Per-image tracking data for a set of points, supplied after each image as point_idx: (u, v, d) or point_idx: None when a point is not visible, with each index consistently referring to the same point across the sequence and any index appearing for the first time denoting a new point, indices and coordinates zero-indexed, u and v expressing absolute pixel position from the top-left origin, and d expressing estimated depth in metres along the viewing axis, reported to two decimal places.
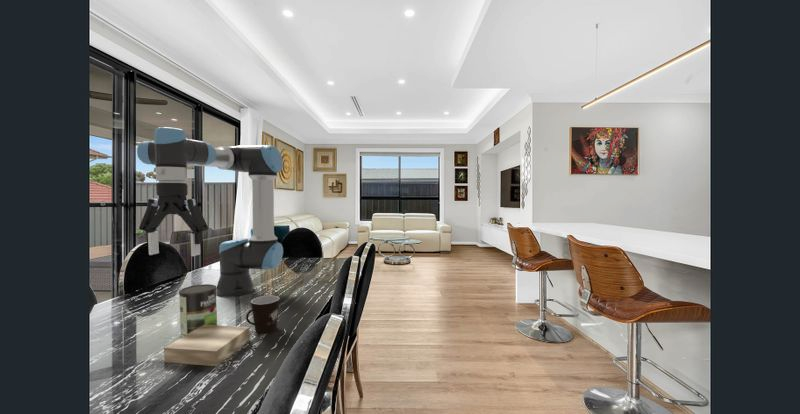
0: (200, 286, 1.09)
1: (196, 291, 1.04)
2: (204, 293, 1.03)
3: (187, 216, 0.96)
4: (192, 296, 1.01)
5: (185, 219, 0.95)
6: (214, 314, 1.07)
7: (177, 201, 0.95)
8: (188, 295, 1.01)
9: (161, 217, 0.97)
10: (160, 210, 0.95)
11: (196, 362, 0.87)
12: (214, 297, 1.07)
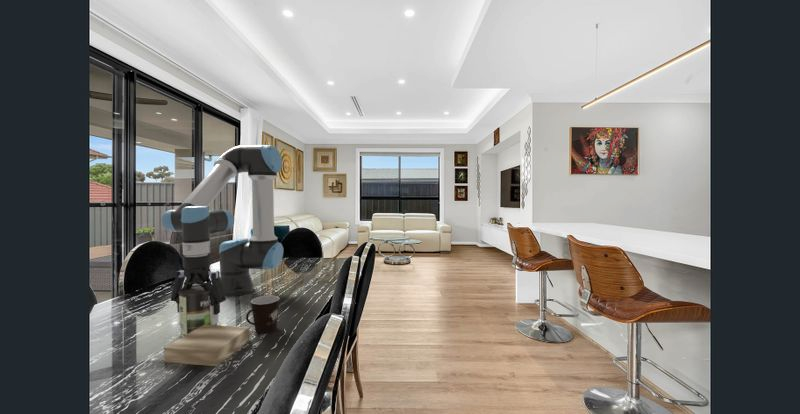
0: (200, 286, 1.09)
1: (196, 291, 1.04)
2: (204, 293, 1.03)
3: (209, 288, 1.05)
4: (191, 296, 1.01)
5: None
6: None
7: (202, 272, 1.04)
8: (188, 295, 1.01)
9: (189, 287, 1.06)
10: (187, 281, 1.04)
11: (196, 362, 0.87)
12: None
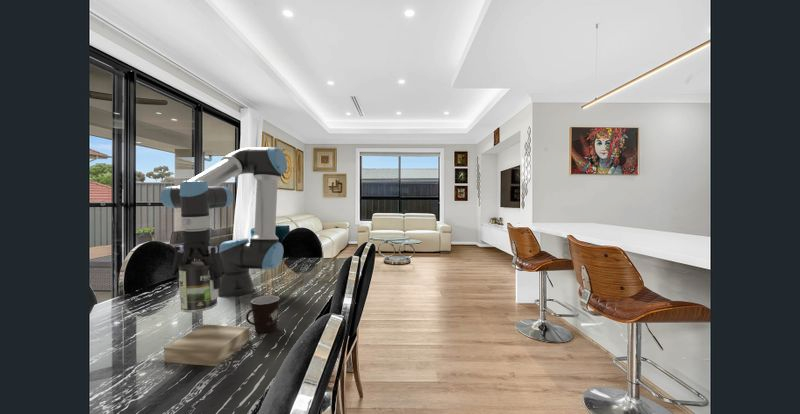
0: (200, 261, 1.09)
1: (196, 266, 1.03)
2: (204, 267, 1.03)
3: (208, 262, 1.05)
4: (191, 270, 1.01)
5: None
6: None
7: (201, 247, 1.04)
8: (188, 269, 1.01)
9: (188, 262, 1.06)
10: (186, 256, 1.04)
11: (196, 362, 0.87)
12: None
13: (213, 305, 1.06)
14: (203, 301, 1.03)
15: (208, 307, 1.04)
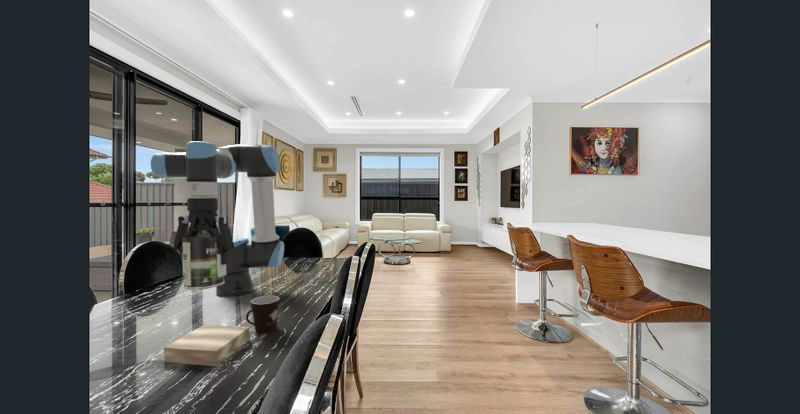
0: (206, 235, 0.97)
1: (201, 237, 0.92)
2: (210, 239, 0.91)
3: (216, 234, 0.93)
4: (196, 241, 0.89)
5: None
6: None
7: (208, 216, 0.93)
8: (192, 240, 0.89)
9: (193, 234, 0.95)
10: (191, 227, 0.93)
11: (196, 362, 0.87)
12: None
13: (220, 283, 0.94)
14: (209, 277, 0.91)
15: (214, 285, 0.92)
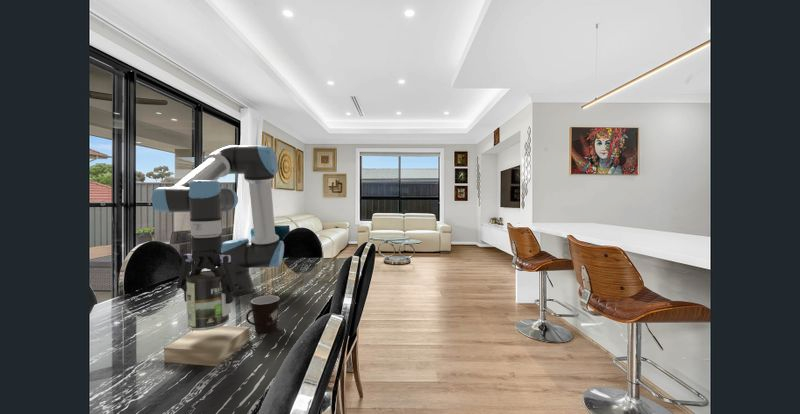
0: (210, 272, 0.96)
1: (206, 277, 0.91)
2: (215, 279, 0.90)
3: (220, 273, 0.92)
4: (201, 282, 0.88)
5: None
6: None
7: (212, 255, 0.92)
8: (197, 281, 0.88)
9: (197, 273, 0.94)
10: (195, 266, 0.92)
11: (196, 362, 0.87)
12: None
13: (225, 322, 0.93)
14: (213, 317, 0.90)
15: (219, 324, 0.91)
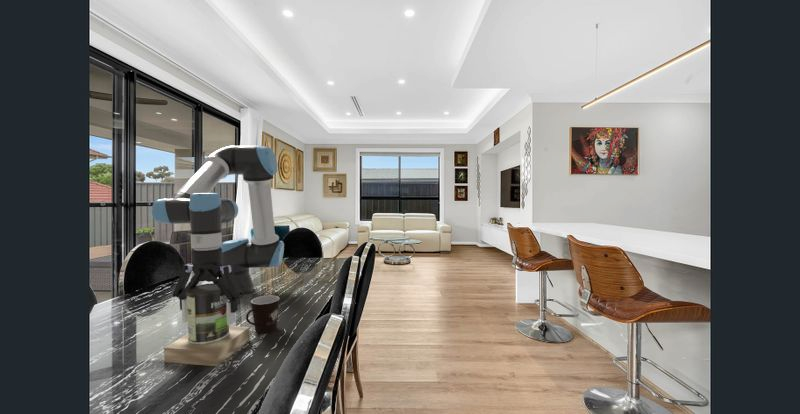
0: (210, 285, 0.96)
1: (206, 291, 0.91)
2: (215, 293, 0.90)
3: (223, 283, 0.92)
4: (201, 297, 0.89)
5: (221, 287, 0.92)
6: (226, 317, 0.94)
7: (212, 268, 0.92)
8: (197, 295, 0.88)
9: (195, 283, 0.94)
10: (195, 277, 0.92)
11: (196, 362, 0.87)
12: (226, 297, 0.94)
13: (225, 335, 0.93)
14: (214, 331, 0.91)
15: (219, 338, 0.92)
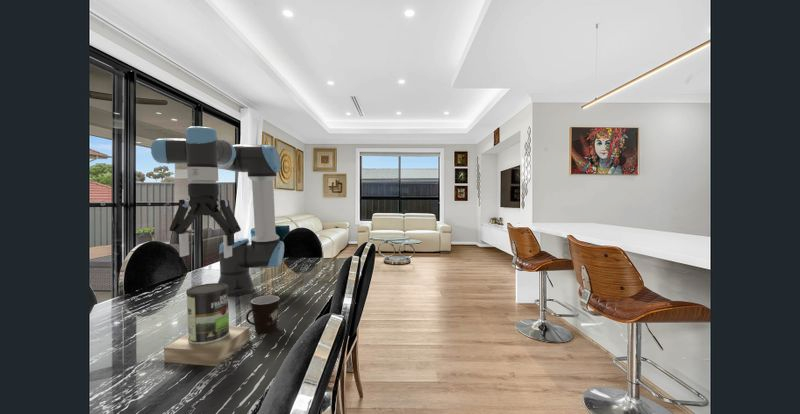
0: (210, 285, 0.96)
1: (206, 291, 0.91)
2: (215, 293, 0.90)
3: (219, 217, 0.94)
4: (201, 297, 0.89)
5: (217, 220, 0.93)
6: (226, 317, 0.94)
7: (209, 202, 0.93)
8: (197, 295, 0.88)
9: (192, 218, 0.95)
10: (192, 211, 0.93)
11: (196, 362, 0.87)
12: (226, 297, 0.94)
13: (225, 335, 0.93)
14: (214, 331, 0.91)
15: (219, 338, 0.92)
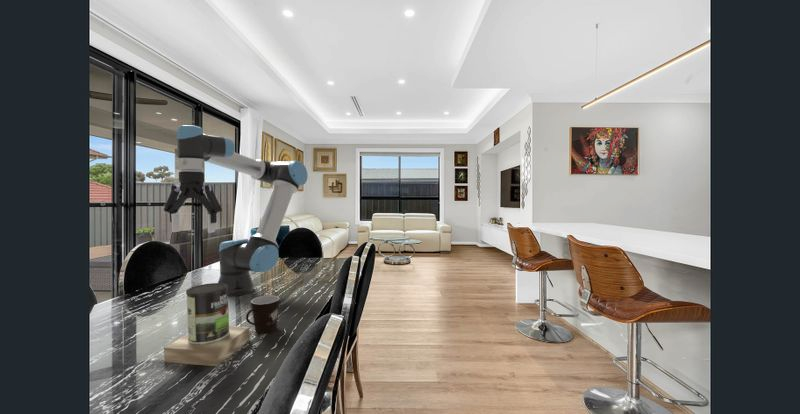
0: (210, 285, 0.96)
1: (206, 291, 0.91)
2: (215, 293, 0.90)
3: (204, 199, 1.14)
4: (201, 297, 0.89)
5: (203, 202, 1.14)
6: (226, 317, 0.94)
7: (196, 187, 1.14)
8: (197, 295, 0.88)
9: (182, 200, 1.16)
10: (182, 194, 1.14)
11: (196, 362, 0.87)
12: (226, 297, 0.94)
13: (225, 335, 0.93)
14: (214, 331, 0.91)
15: (219, 338, 0.92)
